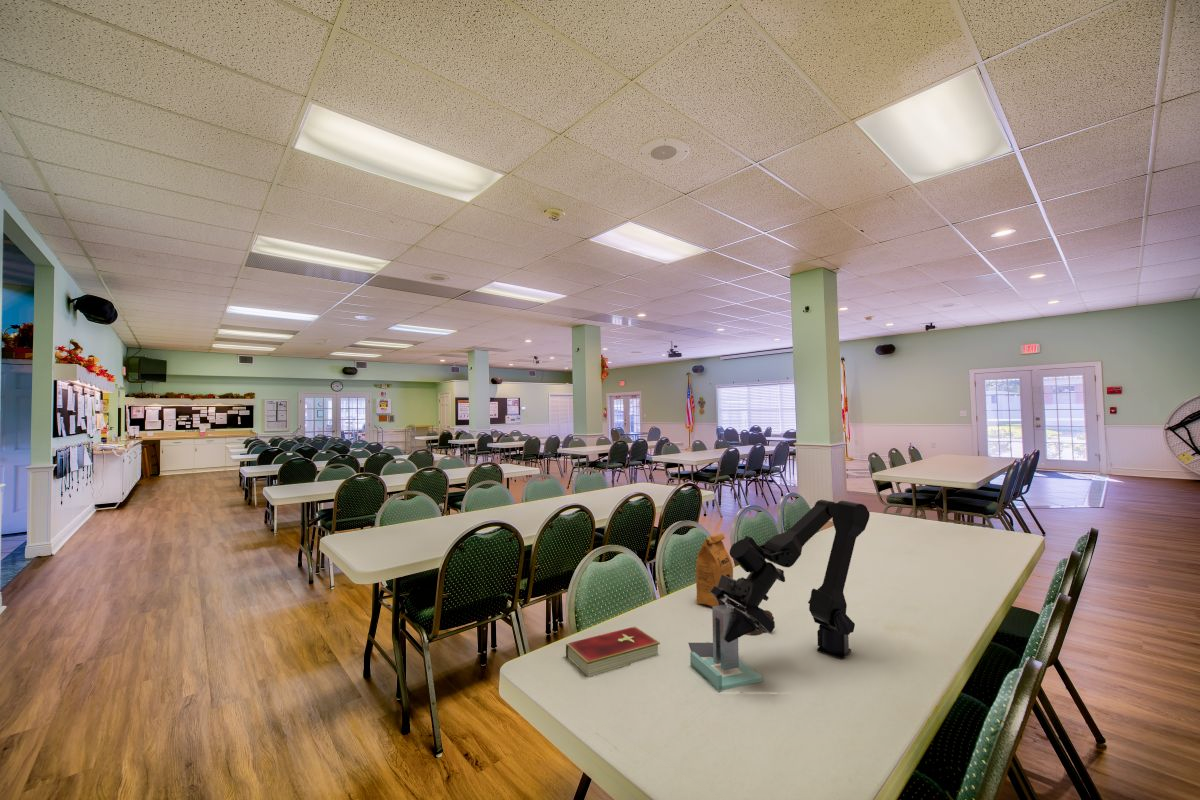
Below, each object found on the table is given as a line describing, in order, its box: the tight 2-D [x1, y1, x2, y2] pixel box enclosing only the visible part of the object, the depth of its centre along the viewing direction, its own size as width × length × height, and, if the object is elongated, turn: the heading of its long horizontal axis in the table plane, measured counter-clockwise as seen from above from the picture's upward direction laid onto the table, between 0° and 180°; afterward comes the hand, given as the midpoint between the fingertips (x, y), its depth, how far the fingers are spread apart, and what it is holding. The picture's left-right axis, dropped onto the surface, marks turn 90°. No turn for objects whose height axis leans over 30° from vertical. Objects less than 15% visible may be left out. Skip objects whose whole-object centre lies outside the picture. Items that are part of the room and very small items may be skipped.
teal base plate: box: [689, 652, 764, 693], centre depth 116 cm, size 12×12×4 cm
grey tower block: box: [711, 604, 740, 670], centre depth 117 cm, size 4×4×13 cm
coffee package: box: [695, 533, 734, 608], centre depth 163 cm, size 10×12×22 cm
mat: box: [687, 642, 713, 658], centre depth 128 cm, size 8×8×1 cm
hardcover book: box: [565, 626, 661, 677], centre depth 126 cm, size 12×21×4 cm, turn 119°
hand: (720, 637), depth 116 cm, fingers closed on grey tower block, 4 cm apart
